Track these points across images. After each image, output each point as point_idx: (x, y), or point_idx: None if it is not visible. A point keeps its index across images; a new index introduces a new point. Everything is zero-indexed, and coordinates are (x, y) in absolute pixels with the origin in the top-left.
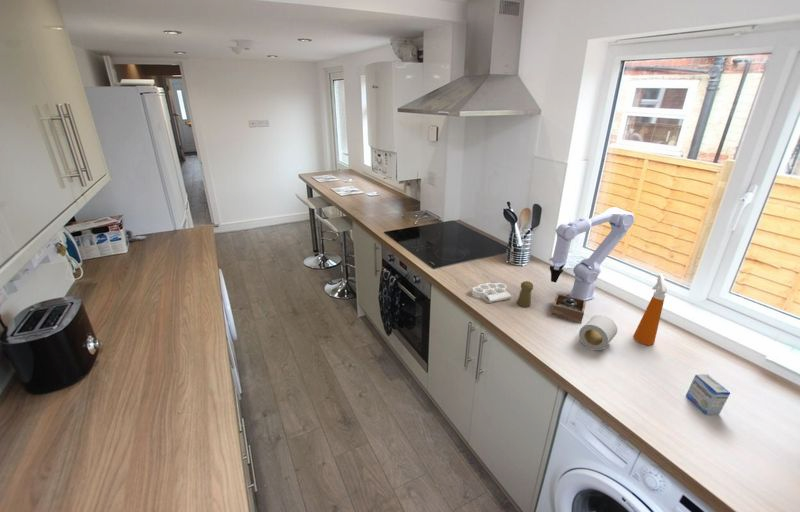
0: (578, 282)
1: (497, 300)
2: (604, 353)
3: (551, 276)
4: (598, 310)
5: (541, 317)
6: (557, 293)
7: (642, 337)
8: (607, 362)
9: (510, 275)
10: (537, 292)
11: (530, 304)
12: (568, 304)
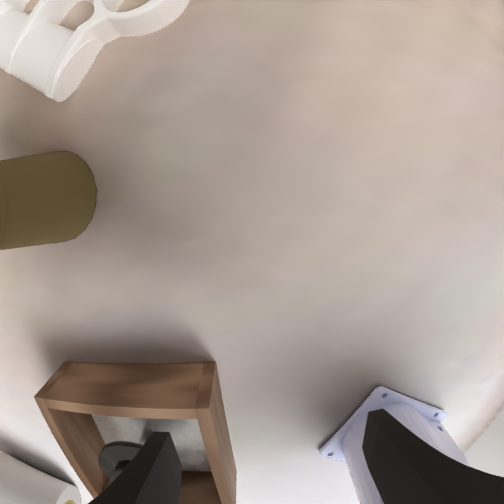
0: (378, 501)
1: (1, 68)
2: None
3: (119, 477)
4: (279, 499)
5: (16, 324)
6: (207, 411)
7: None
8: None
9: (429, 7)
10: (301, 222)
11: (69, 239)
12: (100, 465)
